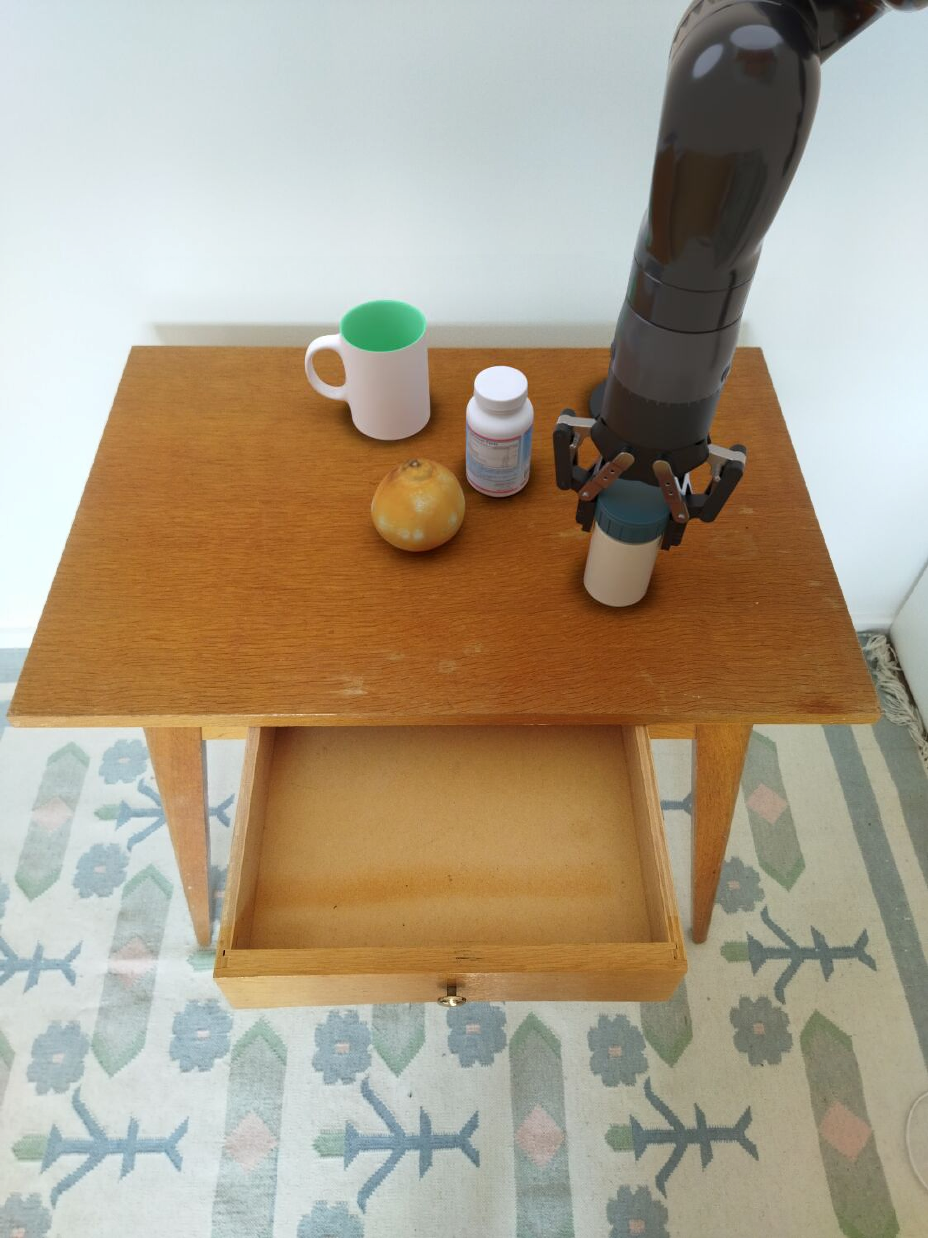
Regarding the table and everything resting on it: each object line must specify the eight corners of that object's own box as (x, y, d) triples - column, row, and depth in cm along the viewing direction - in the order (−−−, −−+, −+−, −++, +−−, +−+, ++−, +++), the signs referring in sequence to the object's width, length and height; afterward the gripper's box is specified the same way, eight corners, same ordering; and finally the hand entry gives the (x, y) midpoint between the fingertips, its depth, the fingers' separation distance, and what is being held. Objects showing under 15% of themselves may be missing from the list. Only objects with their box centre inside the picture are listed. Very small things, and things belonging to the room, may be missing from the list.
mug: (310, 441, 82) (292, 354, 74) (316, 389, 87) (300, 301, 78) (430, 439, 82) (426, 351, 74) (430, 386, 87) (426, 298, 79)
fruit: (397, 461, 77) (381, 435, 69) (479, 485, 76) (473, 462, 68) (370, 543, 77) (351, 527, 69) (452, 569, 76) (442, 556, 68)
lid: (602, 481, 67) (605, 460, 65) (675, 498, 66) (681, 477, 64) (585, 533, 64) (589, 513, 62) (662, 552, 63) (668, 531, 61)
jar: (648, 560, 73) (671, 480, 65) (646, 610, 70) (670, 532, 62) (585, 553, 74) (601, 472, 66) (581, 602, 71) (596, 523, 62)
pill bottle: (496, 446, 82) (500, 350, 73) (541, 477, 79) (551, 382, 70) (452, 476, 79) (451, 381, 70) (497, 509, 77) (502, 415, 68)
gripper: (787, 347, 54) (721, 521, 68) (574, 307, 56) (551, 482, 70) (777, 421, 50) (708, 590, 63) (547, 374, 52) (529, 546, 66)
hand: (626, 532), depth 67 cm, fingers closed on lid, 6 cm apart
